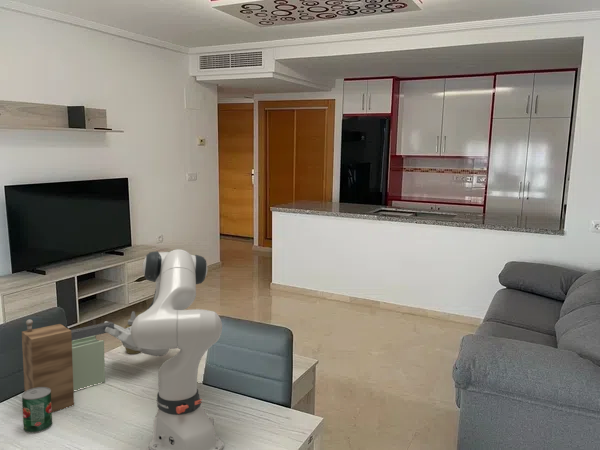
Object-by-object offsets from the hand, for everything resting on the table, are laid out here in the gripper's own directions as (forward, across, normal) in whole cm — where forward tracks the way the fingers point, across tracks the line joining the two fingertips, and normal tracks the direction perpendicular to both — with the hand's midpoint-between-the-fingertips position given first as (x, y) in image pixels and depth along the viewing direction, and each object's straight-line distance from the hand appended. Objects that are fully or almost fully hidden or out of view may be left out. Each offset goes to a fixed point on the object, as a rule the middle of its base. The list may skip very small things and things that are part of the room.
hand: (102, 327), depth 181 cm
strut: (+4, 0, +5) cm, 7 cm away
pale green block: (-2, 0, +22) cm, 22 cm away
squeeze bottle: (-28, -17, +7) cm, 34 cm away
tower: (+9, +9, +28) cm, 31 cm away
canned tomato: (+15, +20, +32) cm, 41 cm away
